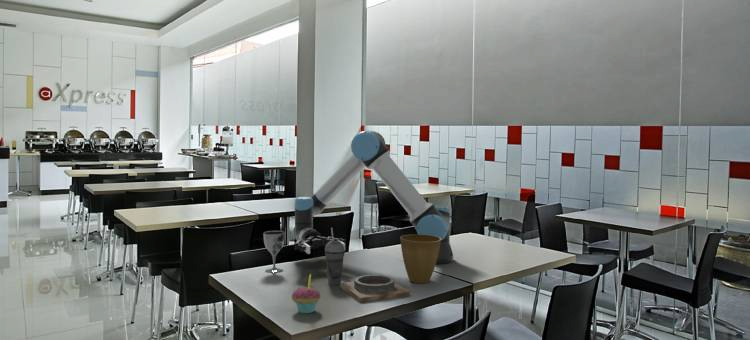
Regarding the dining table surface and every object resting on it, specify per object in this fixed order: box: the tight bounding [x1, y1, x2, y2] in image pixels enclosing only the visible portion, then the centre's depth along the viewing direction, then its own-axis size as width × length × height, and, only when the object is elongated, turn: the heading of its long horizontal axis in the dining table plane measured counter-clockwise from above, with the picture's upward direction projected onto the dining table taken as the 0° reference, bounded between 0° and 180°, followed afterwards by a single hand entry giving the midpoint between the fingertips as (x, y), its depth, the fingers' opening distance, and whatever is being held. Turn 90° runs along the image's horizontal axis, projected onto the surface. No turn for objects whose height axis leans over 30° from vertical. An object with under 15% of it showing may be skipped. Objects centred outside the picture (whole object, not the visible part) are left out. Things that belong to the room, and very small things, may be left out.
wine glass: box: [263, 230, 286, 274], centre depth 203 cm, size 8×8×15 cm
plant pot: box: [399, 233, 441, 284], centre depth 190 cm, size 15×15×16 cm
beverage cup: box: [324, 227, 346, 286], centre depth 186 cm, size 7×7×20 cm
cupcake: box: [291, 272, 321, 314], centre depth 156 cm, size 9×8×12 cm
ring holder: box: [339, 274, 411, 303], centre depth 177 cm, size 18×18×4 cm
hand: (327, 248), depth 193 cm, fingers open, 13 cm apart
